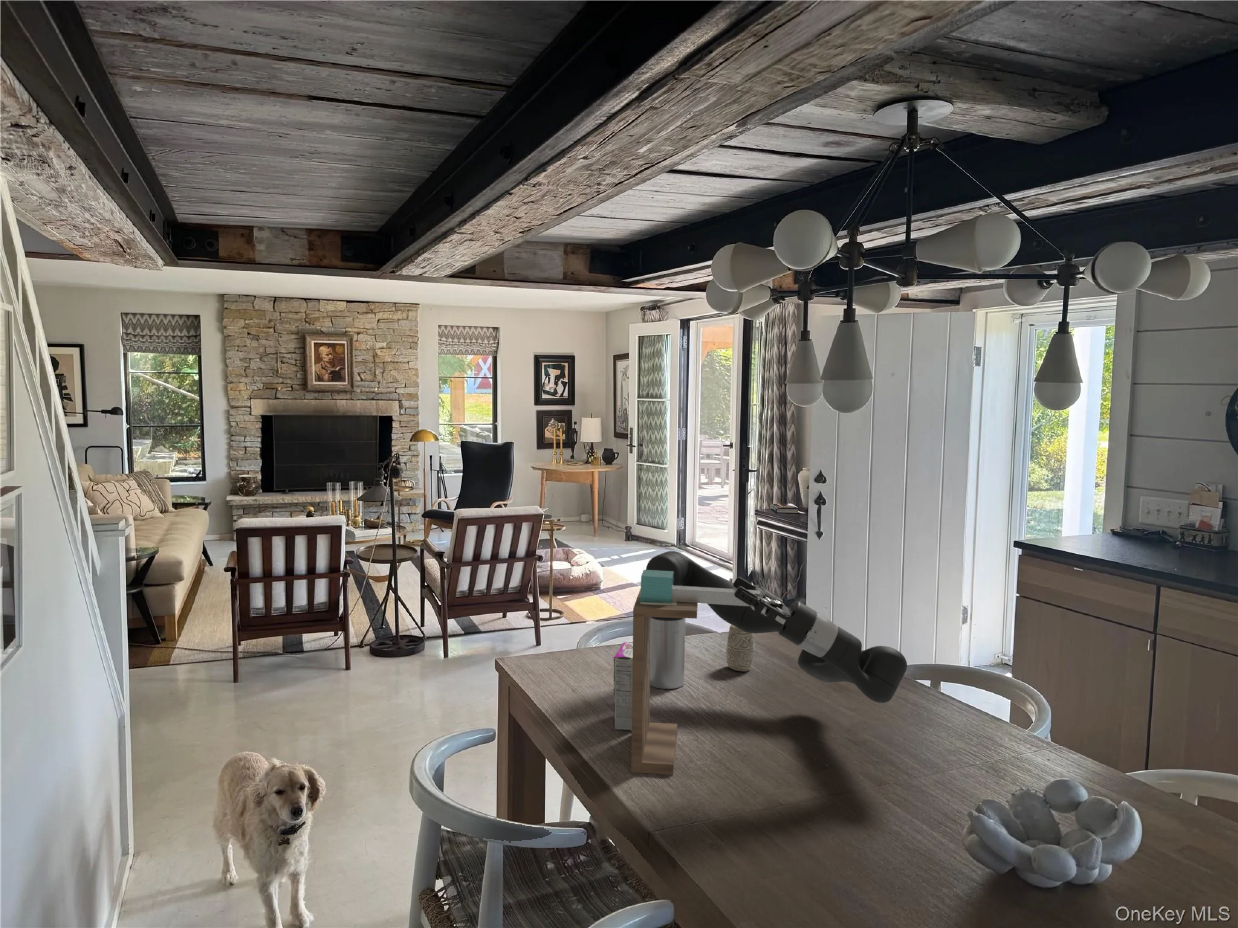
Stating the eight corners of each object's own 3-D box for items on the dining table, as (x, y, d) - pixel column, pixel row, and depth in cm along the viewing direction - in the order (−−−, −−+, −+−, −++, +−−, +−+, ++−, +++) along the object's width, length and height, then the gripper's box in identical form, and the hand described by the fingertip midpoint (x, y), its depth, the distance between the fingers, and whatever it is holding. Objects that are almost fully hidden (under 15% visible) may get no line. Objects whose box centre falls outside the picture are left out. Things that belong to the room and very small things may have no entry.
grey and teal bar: (642, 594, 166) (643, 569, 166) (758, 601, 164) (759, 576, 163) (640, 601, 160) (641, 575, 160) (760, 608, 158) (761, 582, 157)
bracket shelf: (640, 730, 179) (641, 583, 176) (695, 733, 177) (698, 585, 175) (631, 772, 159) (633, 607, 156) (694, 775, 158) (697, 609, 155)
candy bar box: (622, 711, 190) (623, 641, 189) (643, 713, 189) (644, 642, 188) (612, 730, 179) (612, 655, 178) (634, 732, 178) (635, 657, 177)
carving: (750, 674, 216) (751, 629, 216) (722, 670, 220) (723, 625, 219) (757, 667, 222) (758, 623, 221) (730, 663, 225) (730, 620, 224)
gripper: (813, 604, 167) (744, 562, 168) (823, 622, 153) (747, 577, 154) (794, 634, 168) (724, 593, 169) (801, 656, 154) (726, 610, 154)
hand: (735, 585), depth 161 cm, fingers open, 8 cm apart
